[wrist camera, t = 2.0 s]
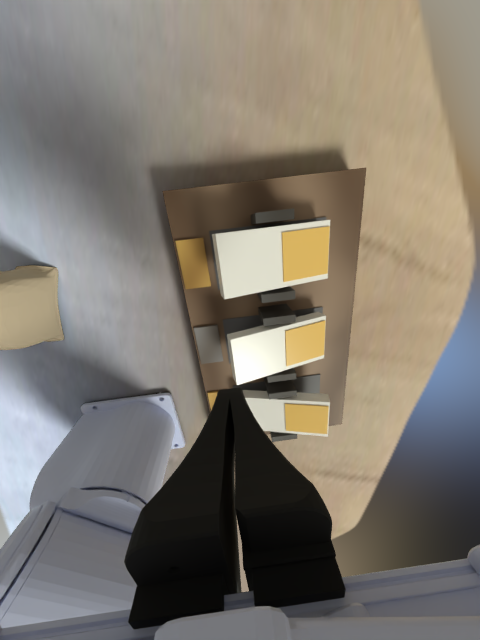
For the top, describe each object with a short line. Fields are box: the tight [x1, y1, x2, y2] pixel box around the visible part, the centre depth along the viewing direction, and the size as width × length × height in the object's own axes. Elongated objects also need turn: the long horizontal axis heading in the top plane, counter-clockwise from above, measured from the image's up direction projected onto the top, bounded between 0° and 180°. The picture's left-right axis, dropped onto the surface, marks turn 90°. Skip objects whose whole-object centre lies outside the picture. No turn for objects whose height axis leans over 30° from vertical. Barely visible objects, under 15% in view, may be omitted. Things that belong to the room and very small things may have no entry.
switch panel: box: [163, 168, 366, 442], centre depth 19 cm, size 14×24×5 cm, turn 6°
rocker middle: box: [227, 312, 326, 385], centre depth 18 cm, size 8×4×1 cm, turn 96°
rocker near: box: [212, 220, 330, 299], centre depth 15 cm, size 8×4×1 cm, turn 96°
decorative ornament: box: [0, 265, 64, 350], centre depth 16 cm, size 4×8×5 cm, turn 167°
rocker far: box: [243, 390, 330, 437], centre depth 20 cm, size 8×4×1 cm, turn 96°
